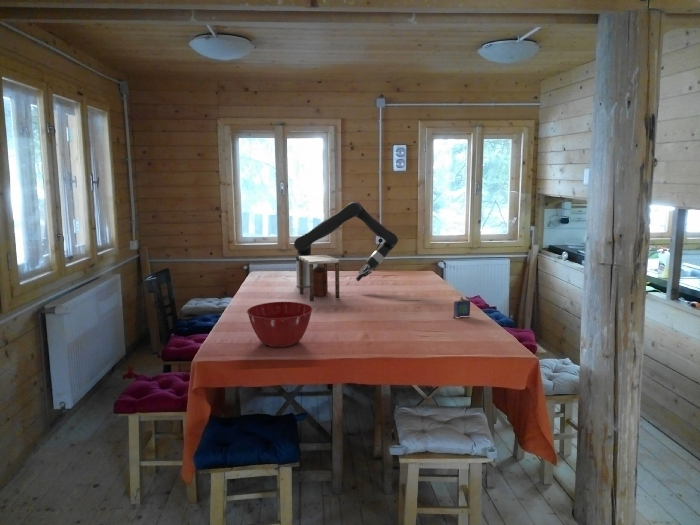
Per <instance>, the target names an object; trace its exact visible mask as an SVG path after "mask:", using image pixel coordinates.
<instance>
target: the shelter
mask: <svg viewBox="0 0 700 525" xmlns="http://www.w3.org/2000/svg"><path fill="white" fill-rule="evenodd" d="M303 261H304V262H306V263H308V264H309V281H310V286H309V302H315V296H314V276H313V269H314V265H319V264H323V268H324V269H325V270H326V272H325V273H326V278H327V282H326V283H327V291H328V290H329V289H328V288H329V287H328V283H329V281H328V264H334V279H335V280H334V287H335V288H334V290H335V294H334V295H335V296H334V298H335V299H336V298H339V299H340V259H338V258H335V257H333V256H331V255H328V254H317V255H316V254H314V255H312V254H311V256H299V285H300V287H299V294H300V295H303V293H304V294H305V292H304V287H303ZM328 292H329V291H328Z"/></svg>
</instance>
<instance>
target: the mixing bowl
mask: <svg viewBox="0 0 700 525" xmlns="http://www.w3.org/2000/svg"><path fill="white" fill-rule="evenodd" d="M312 311H313V307H312V306H311V305H310V304H306V303H302V302H295V301H273V302H271V301H270V302H263V303H260V304H256V305H254V306H251V307H249V308H248V309H247V311H246V313H247V315H248V318H249V322H250V325H251V327H252V329H253V331H254V333H255V335H256V336H257V338H258V339H259V341H260V342H261V343H263V344H264V345H266V346H267V345H269V346H268V347H270V346H273V347H272V348H288V347H287V346H289V347H291V345H292V346H294V345H295V343H296V344H297V343H299V341H301V340H302V338H303V337H304V335H305V333H306V331H307V329H308V326H309V323H310V319H311V316H312ZM293 344H294V345H293Z"/></svg>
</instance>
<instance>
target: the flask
mask: <svg viewBox="0 0 700 525" xmlns="http://www.w3.org/2000/svg"><path fill="white" fill-rule="evenodd" d="M469 315H470V316H471V300H470V299H467V298H464V296H460V299H459V300H454V301H453V318H454V317H460V316H469Z"/></svg>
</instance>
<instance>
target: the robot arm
mask: <svg viewBox="0 0 700 525" xmlns="http://www.w3.org/2000/svg"><path fill="white" fill-rule="evenodd" d="M355 217H356V218H357V219H359V220H360V221H362V222H363V223H364V224H365V225H366V226H367V227H368V229H369V230H370V231H371V232H372V233H373V234H375V236H377V237H378V238H381V239H383V240H384V242H382V244H381V245H380V246H378V248H377V249H376V250H375V251H374V252H373V253H372V254H371V255H370V256H369V257H368V258H367V260H366V261H365V262H366V264H365V265H363V266H361V267H360V269H359V271H358V273H359V274H358V275H357V277H356V278H355V281H357V282H360V281H361V279H362V278H366V277H367V276H368V275H370V274H371V273H372V270H373V269H374V270H375V269H377V267H378V266H379V265H380V264H381V263H382V261H383V260H384V259H385V258H386V256H387V255H389V253H390V252H391V251H392V249H394V247H395V246H396V245H397V244H398V242H399V238H398V236H397V235H396V234H395V233H393V232H392V231H391V230H388V229H387V228H386V227H385V226H383V224H381V223H380V222H379V221H377V220H376V219H375V217H373V216H371V214H370V213H369V212H368V211H367V210H366V209H365V208H364V206H363V205H362V204H361V203H360V202H357V201H352V202H349V203H348V204H347V205H346V206H344V207H343V208H342V209H341V210H340V211H339V212H337V213H334V214H333V215H331V216H330V217H328V218H325V219H324V220H322V221H321V222H320V223H318V224H317V225H316V226H315V227H313V228H312V229H311V230H310V231H308V232H307V233H304V234H303V235H301V236H299V237H297V238H296V239H295V240H294V241H293V247H294V249H295V250H297V253H296V256H295V263H296V266H295V269H296V271H295V273H296V286H297V287H299V288H300V285H299V256H312V244H314V243H315V242H316V241H318V240H321V239H323V238H325V237H327V236H328V235H331V233H333V232H335V231H337V229H338V228H340V226H342V225H343V224H344V223H345V222H347V221H349V220H351V219H352V218H355ZM307 287H310V281H309V264H308V263H306V262H304V261H303V288H307Z"/></svg>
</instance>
